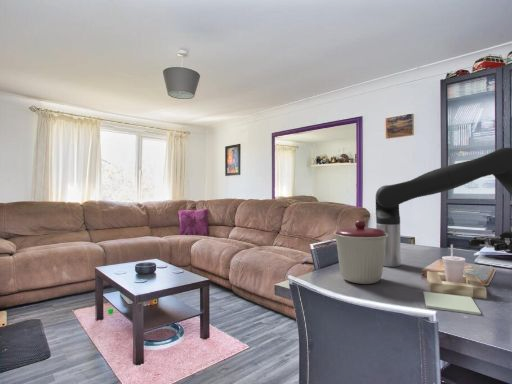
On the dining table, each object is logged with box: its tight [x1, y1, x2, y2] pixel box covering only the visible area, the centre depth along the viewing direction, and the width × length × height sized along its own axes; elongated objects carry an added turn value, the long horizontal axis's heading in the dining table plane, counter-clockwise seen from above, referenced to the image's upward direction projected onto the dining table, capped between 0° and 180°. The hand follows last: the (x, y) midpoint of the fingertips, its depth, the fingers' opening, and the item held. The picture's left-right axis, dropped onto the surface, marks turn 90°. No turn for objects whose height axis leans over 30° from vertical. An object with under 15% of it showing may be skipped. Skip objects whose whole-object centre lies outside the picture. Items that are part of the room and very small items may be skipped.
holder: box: [426, 270, 487, 300], centre depth 97 cm, size 14×14×3 cm
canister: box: [333, 219, 388, 285], centre depth 107 cm, size 18×18×21 cm
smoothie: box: [441, 244, 467, 283], centre depth 97 cm, size 6×6×14 cm
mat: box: [423, 291, 482, 316], centre depth 85 cm, size 12×12×1 cm
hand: (482, 245), depth 99 cm, fingers open, 8 cm apart
